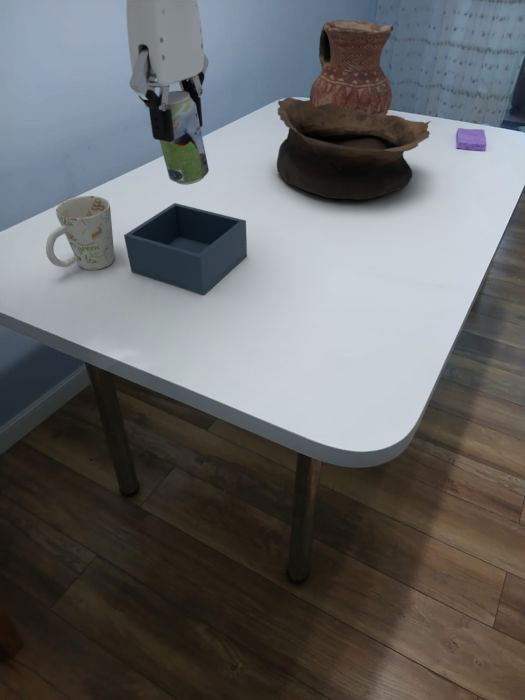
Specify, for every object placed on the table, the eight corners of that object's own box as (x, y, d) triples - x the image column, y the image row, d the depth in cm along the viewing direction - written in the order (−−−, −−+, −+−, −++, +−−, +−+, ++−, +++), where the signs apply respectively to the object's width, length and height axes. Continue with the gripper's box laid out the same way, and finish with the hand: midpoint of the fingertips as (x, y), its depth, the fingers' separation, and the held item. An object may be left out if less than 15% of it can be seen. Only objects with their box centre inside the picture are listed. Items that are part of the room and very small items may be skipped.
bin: (131, 272, 83) (123, 235, 78) (179, 237, 92) (174, 202, 87) (204, 295, 77) (200, 257, 73) (247, 256, 86) (246, 220, 82)
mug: (131, 257, 86) (120, 203, 80) (75, 291, 78) (58, 234, 72) (97, 244, 90) (84, 191, 83) (41, 276, 82) (21, 220, 75)
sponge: (456, 149, 127) (458, 141, 126) (456, 133, 136) (457, 126, 135) (485, 151, 125) (487, 144, 124) (482, 136, 135) (484, 128, 133)
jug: (394, 122, 144) (411, 20, 127) (376, 145, 129) (392, 32, 113) (322, 113, 151) (329, 15, 134) (297, 134, 136) (301, 27, 120)
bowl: (308, 151, 130) (317, 88, 121) (431, 183, 118) (451, 116, 109) (237, 185, 106) (241, 109, 97) (383, 229, 94) (404, 148, 85)
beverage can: (217, 180, 75) (213, 93, 67) (178, 193, 71) (169, 102, 63) (191, 169, 78) (185, 85, 70) (152, 181, 74) (141, 93, 66)
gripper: (178, -34, 65) (191, 113, 76) (84, -24, 53) (116, 147, 65) (227, -32, 62) (233, 120, 74) (138, -22, 51) (162, 156, 62)
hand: (178, 131), depth 69 cm, fingers closed on beverage can, 6 cm apart
